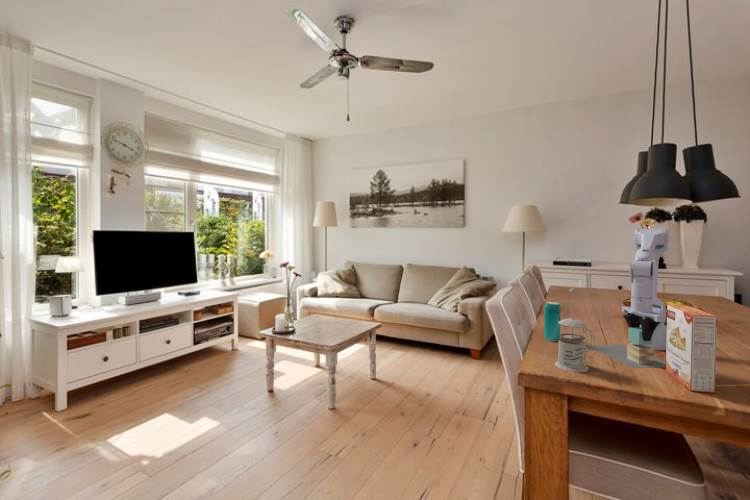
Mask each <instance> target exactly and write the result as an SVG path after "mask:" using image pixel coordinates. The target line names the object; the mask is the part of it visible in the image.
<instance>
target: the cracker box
mask: <svg viewBox="0 0 750 500" xmlns="http://www.w3.org/2000/svg"><path fill="white" fill-rule="evenodd" d="M666 306H667V308H666V327H667V343H666V350H665V352H666V353H665V354H666V355H665V357H666V358H665V362H666V367H665V372H666V374H668V375H670V376H671V377H672V378H673V379H675V380H676V381H678V382H679V383H680V384H681V385H682V386H684V387H685V388H686V389H687V390H689V391H690V392H700V393H709V394H715V393H716V374H717V373H716V372H717V370H716V367H717V366H716V364H717V338H718V337H717V336H718V316H717V315H715V314H712V313H709V312H706V311H704V310H701V309H699V308H696V307H693V306H691V305H678V304H669V305H668V304H667V305H666Z"/></svg>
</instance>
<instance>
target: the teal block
mask: <svg viewBox="0 0 750 500" xmlns="http://www.w3.org/2000/svg"><path fill="white" fill-rule="evenodd" d="M627 329H628V332H627V334H628V337H627V341H628V342H629V343H635V344H638V345H652V338H651V341H643V336H642V327H632V328H629V327H627Z"/></svg>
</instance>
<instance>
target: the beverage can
mask: <svg viewBox="0 0 750 500" xmlns="http://www.w3.org/2000/svg"><path fill="white" fill-rule="evenodd" d="M560 304H561V303H560V302H558V301H545V305H544V311H543V313H544V314H543V315H544V317H543V318H544V319H543V336H544V339H545V340H546V341H549V342H559V338H561V337H560V334H561V325H559V323H558V322H559V321H561V310H562V307H561V306H560Z"/></svg>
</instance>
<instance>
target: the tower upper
mask: <svg viewBox="0 0 750 500" xmlns="http://www.w3.org/2000/svg"><path fill="white" fill-rule="evenodd" d="M626 347H627V351H628V352H631V353H633V354H635V355H638V356H654V354H655V352H654V351H655V350H654V348H653V347H650V346H647V345H638V344H630V343H627V345H626Z"/></svg>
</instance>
